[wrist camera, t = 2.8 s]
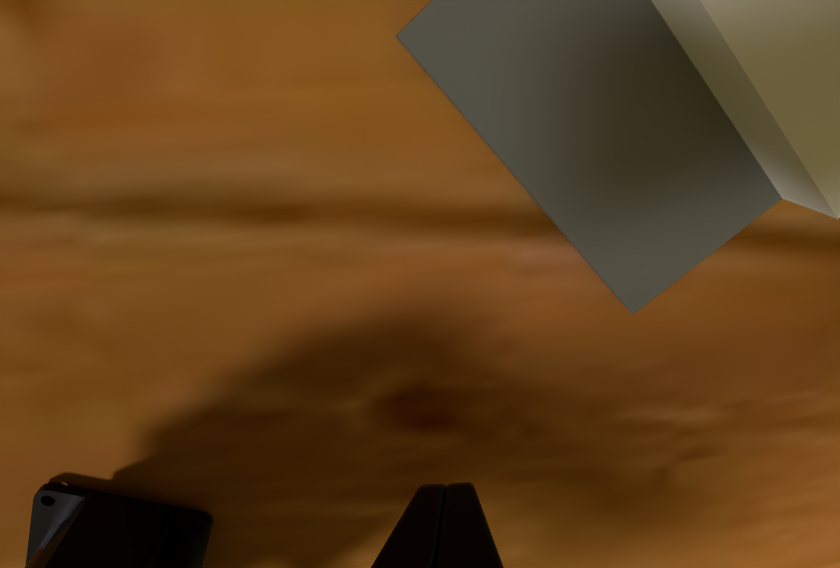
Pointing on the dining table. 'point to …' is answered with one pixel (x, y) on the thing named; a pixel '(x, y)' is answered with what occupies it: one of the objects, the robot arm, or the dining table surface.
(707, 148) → the switch panel
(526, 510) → the dining table surface
